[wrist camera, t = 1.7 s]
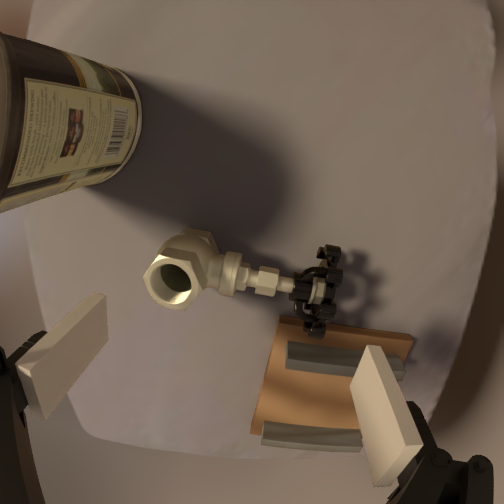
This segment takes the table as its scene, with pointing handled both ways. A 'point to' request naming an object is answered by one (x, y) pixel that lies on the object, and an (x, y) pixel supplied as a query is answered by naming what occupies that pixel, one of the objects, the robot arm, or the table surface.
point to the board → (318, 385)
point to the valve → (240, 278)
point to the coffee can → (60, 121)
